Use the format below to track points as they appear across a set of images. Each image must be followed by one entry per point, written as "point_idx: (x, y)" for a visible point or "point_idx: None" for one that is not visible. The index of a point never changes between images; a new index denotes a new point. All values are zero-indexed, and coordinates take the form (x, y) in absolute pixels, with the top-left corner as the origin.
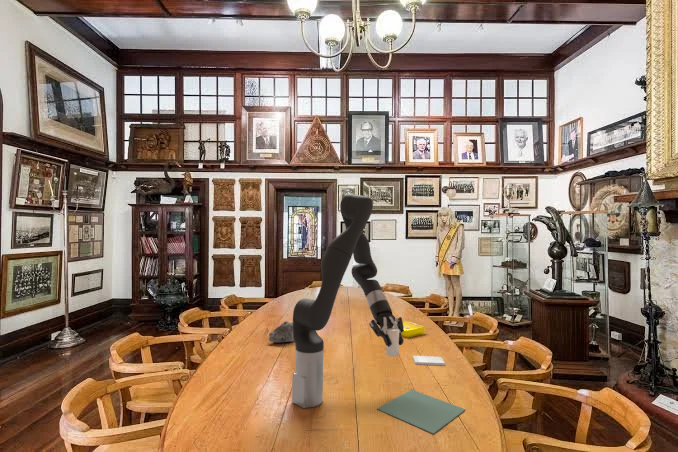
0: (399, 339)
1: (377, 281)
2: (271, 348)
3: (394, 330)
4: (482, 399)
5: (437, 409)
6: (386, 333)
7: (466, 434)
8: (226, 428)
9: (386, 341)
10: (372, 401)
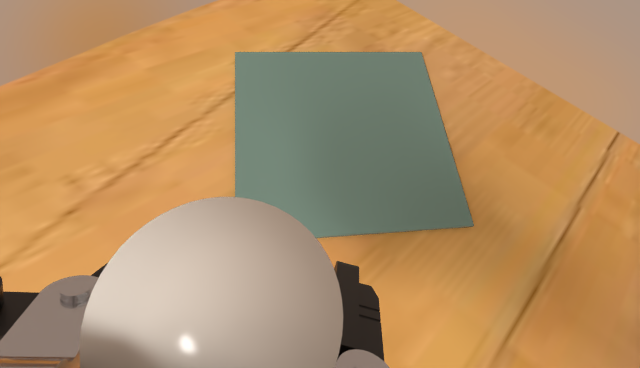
0: None
1: None
2: None
3: (240, 258)
4: (117, 49)
5: (305, 99)
6: (350, 361)
7: (352, 12)
8: None
9: (376, 311)
10: (450, 281)
